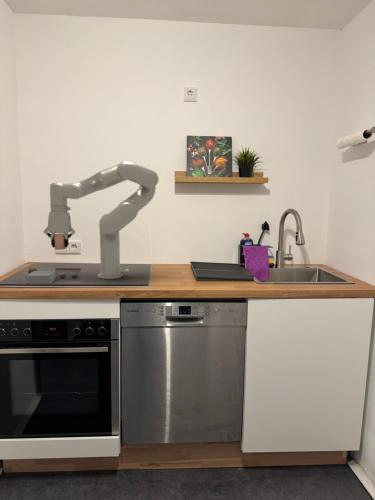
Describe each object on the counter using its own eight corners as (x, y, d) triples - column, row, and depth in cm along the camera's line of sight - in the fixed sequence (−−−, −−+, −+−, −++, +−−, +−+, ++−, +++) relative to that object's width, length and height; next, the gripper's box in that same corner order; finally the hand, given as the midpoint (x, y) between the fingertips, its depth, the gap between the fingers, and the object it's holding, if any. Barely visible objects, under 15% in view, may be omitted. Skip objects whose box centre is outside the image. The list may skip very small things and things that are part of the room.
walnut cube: (37, 275, 177) (37, 267, 177) (37, 277, 174) (37, 269, 173) (28, 275, 176) (28, 268, 175) (28, 277, 172) (28, 269, 171)
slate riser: (55, 278, 170) (54, 270, 170) (50, 284, 161) (49, 275, 160) (33, 279, 169) (33, 271, 168) (27, 284, 159) (26, 275, 159)
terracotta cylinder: (66, 248, 172) (66, 233, 171) (64, 249, 167) (63, 235, 166) (56, 247, 172) (55, 233, 171) (53, 249, 167) (53, 235, 166)
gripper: (78, 209, 171) (79, 246, 174) (42, 208, 169) (43, 245, 172) (75, 210, 164) (76, 248, 167) (37, 209, 162) (39, 248, 165)
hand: (60, 246), depth 169 cm, fingers closed on terracotta cylinder, 5 cm apart
